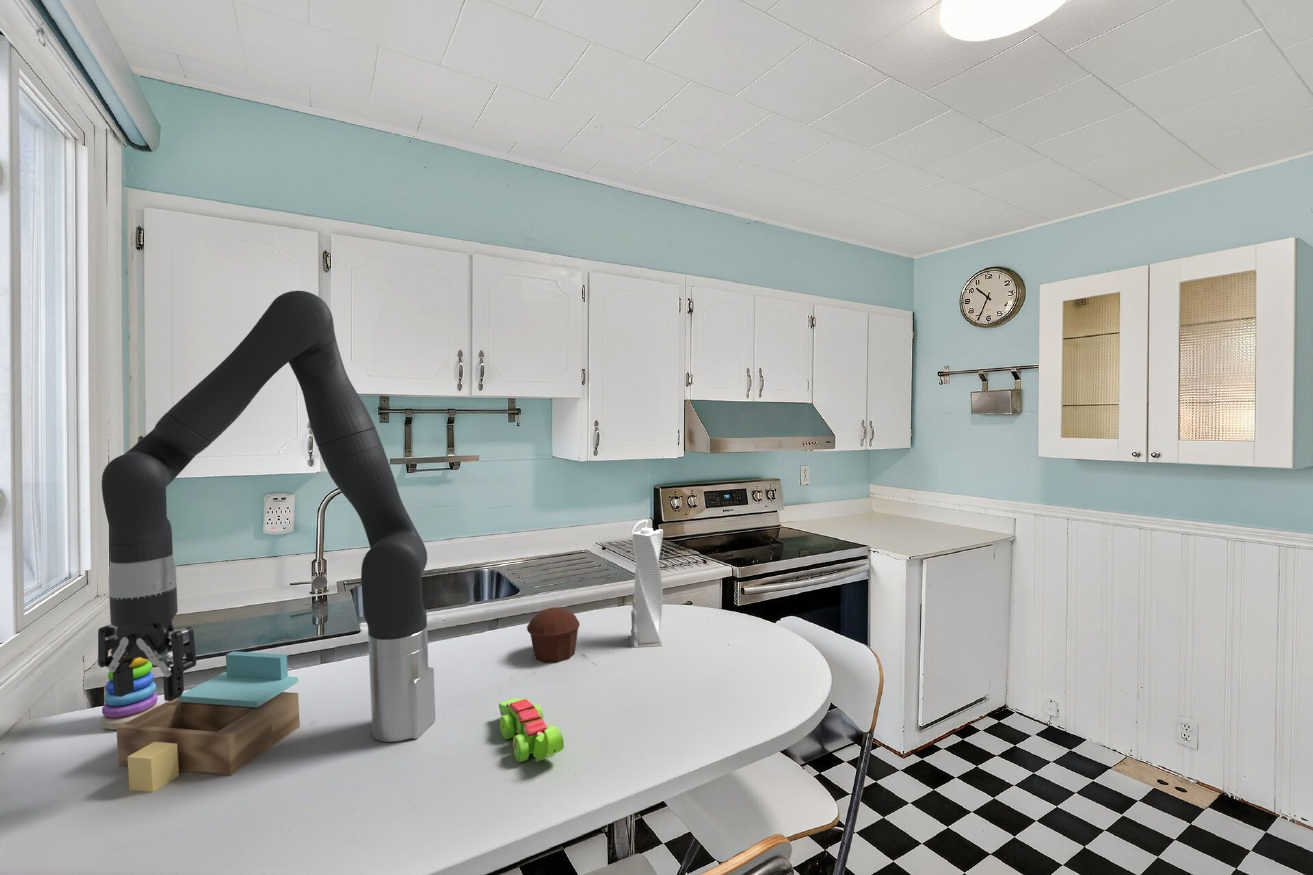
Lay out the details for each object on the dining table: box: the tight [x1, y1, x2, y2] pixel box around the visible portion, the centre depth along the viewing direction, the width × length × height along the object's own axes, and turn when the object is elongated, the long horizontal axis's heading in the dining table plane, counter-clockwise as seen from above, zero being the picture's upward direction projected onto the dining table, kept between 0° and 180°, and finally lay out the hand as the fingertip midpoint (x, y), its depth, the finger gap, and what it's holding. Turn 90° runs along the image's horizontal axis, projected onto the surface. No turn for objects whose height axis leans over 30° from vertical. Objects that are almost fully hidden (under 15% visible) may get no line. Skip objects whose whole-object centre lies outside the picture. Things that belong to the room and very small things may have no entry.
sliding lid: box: [178, 650, 299, 707], centre depth 105 cm, size 15×9×5 cm, turn 81°
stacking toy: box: [100, 649, 160, 730], centre depth 108 cm, size 8×8×19 cm
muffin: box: [526, 606, 581, 664], centre depth 134 cm, size 12×11×10 cm
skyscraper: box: [629, 519, 664, 649], centre depth 141 cm, size 8×8×28 cm
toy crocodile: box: [498, 697, 565, 763], centre depth 99 cm, size 20×7×6 cm, turn 30°
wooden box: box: [115, 691, 301, 777], centre depth 100 cm, size 20×14×6 cm
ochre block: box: [127, 742, 180, 793], centre depth 90 cm, size 4×4×5 cm
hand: (148, 696), depth 89 cm, fingers open, 8 cm apart
